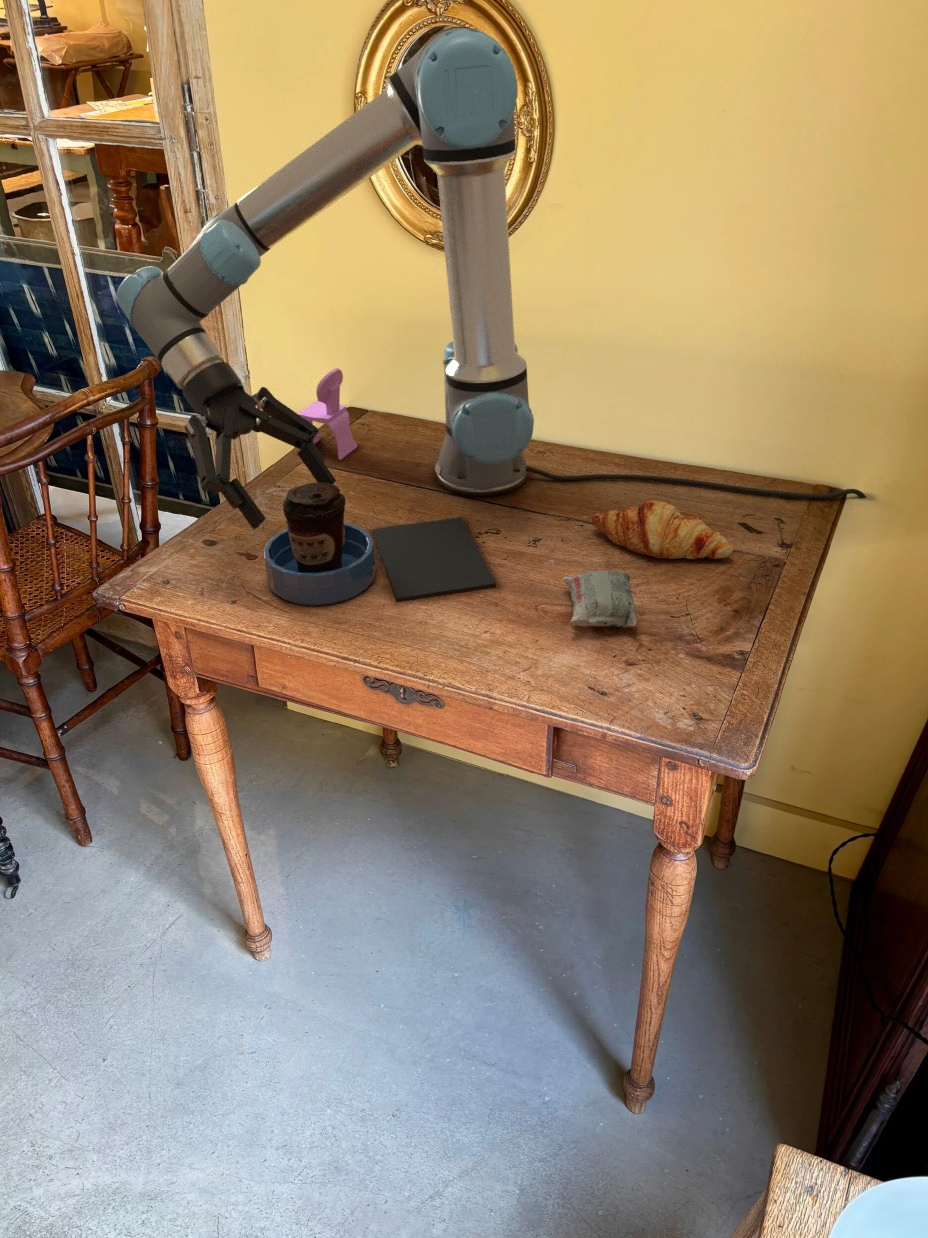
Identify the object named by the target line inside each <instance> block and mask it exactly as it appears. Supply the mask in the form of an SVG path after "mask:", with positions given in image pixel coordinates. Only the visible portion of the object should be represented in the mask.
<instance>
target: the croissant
mask: <svg viewBox="0 0 928 1238" xmlns="http://www.w3.org/2000/svg"><path fill="white" fill-rule="evenodd" d="M591 522H592V525H593V527H594V528H596V529H597V530H599V531H600V532H601V533H602V534H604V535H606V537H607V538H608V539H609V540H610V541H611V542H612V543H614V544H616V546H617V545H618V546H621V547H624V548H626V550H629V551H631V552H634V553H637V554H639V555H646V556H650V557H653V558H657V559H668V560H669V559H670V560H671V559H674V560H676V559H686V560H696V559H704V558H708V559H712V560H717V559H725V558H728V557H730V556H732V554H733V553H734V552H733V551H734V547H733V546H732V544H731V543H729V542H728V541H727V539H726V538H725V537H724V536H723V535H722V533H720V532H719V531H713V530H711V528H710V527H709V526H708V525H707V524H706V523H705V522H704V521H703V520H702V519H701V517H700V516H691V515H690V516H686V515H683V514H681V513H680V511H679V509H678V507H675V506H674V505H673V504H670V503H669V502H664V501H660V500H655V499H654V500H649V499H648V500H645V501H644V502H643V503H642V504H641V505H640V506H639V507H638V506H634V505H628V506H626V507H625V508H624V510H620V511H618V510H616V509H610V510H605V511H604V512H602V513H600V512H594V513H592V516H591Z"/></svg>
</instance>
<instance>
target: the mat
mask: <svg viewBox="0 0 928 1238" xmlns="http://www.w3.org/2000/svg"><path fill="white" fill-rule="evenodd" d="M372 535H373V537H374V540H375V543H376V546H377V549H378V552H379V555H380V558H381V560H382V563H383V566H384V569H385V572H386V575H387V578H388V581H389V584H390V586H391V589H392V593H393V595H394V598H395V601H396V602H398V603H399V602H403V601H409V600H411V601H412V600H417V599H424V598H429V597H437V596H443V595H450V594H457V593H464V592H471V591H476V590H477V591H478V590H484V589H491V588H496V587H497V583H496V581H495V579H494V577H493V575H492V573H491V571H490V569H489V567H488V566H487V564H486V562H485V560H484V558H483V556H482V554H481V552H480V550H479V548H478V546H477V544H476V543H475V541H474V539H473V537H472V535H471V533H470V531H469V529H468V526H467V525H466V524H465V521H464V520H463V518H462V516H460V517H452V518H445V519H438V520H431V521H423V522H415V523H408V524H400V525H393V526H386V527H378V528H372Z"/></svg>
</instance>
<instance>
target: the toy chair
mask: <svg viewBox="0 0 928 1238" xmlns="http://www.w3.org/2000/svg"><path fill="white" fill-rule="evenodd" d="M343 381H344V375H343V371H342V370H341V369H340V368H338V367H335V368H333V369H331V370H330V371H329V372H327V373H326V374H325V375H324V376H323V377H322V378H321V379H320V381H319V382H318V384H317V387H316V391H315V392H316V398H317V400H314V402H311V404H309V405H308V406H307V407H306V408H303V409H302V410H300V411H299V412H296V413H297V414H298V415H300V416H301V417H303V418H304V419H305V420H307V421H308V422H310V423H311V424H313V425H314V423H313V422H316V423H320V424H324V425H326V426H328V428H329V429H330V430H331V432H332V434H333V436H334V438H335V441H336V445H337V446H336V447H337V453H338V456H337V457H338V460H339V461H341V460H343V459H344V458H345V457H346V456H347V455H349V454H350V453H352V451H354V450H355V449H356V448H358V444H357V442H356V441H355V439H354V437H353V435H352V431H351V426H350V415H349V411H348V410H347V405H343V404H342V405H341V404H340V401H341V399H340V397H341V386H342V383H343ZM307 432H308V431H307ZM320 440H321V439H320V438H319V436H318V434H317V435H316V436H315V438H314V439H313V443H314V444H315V445H316V444H317V443H318V442H319V441H320ZM300 450H301V449H299V451H300Z"/></svg>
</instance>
